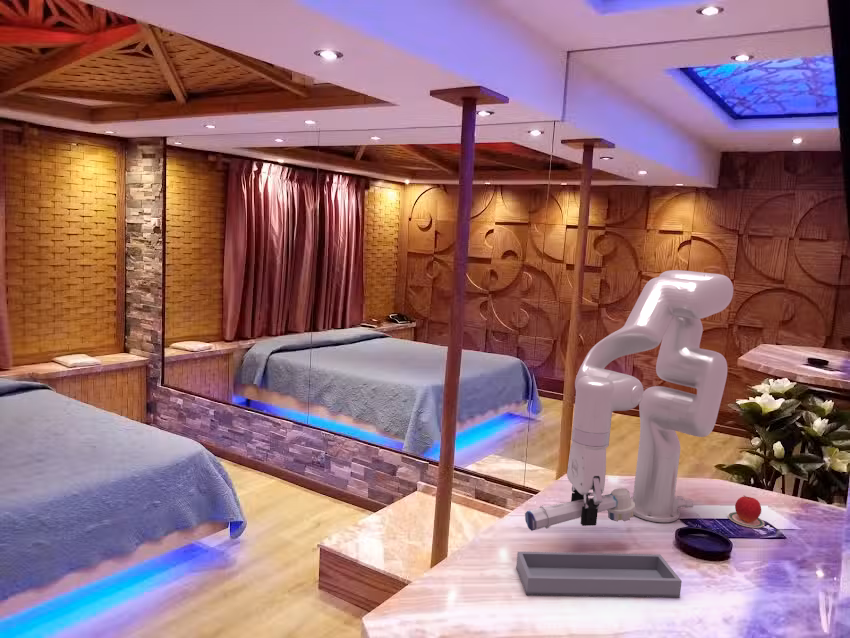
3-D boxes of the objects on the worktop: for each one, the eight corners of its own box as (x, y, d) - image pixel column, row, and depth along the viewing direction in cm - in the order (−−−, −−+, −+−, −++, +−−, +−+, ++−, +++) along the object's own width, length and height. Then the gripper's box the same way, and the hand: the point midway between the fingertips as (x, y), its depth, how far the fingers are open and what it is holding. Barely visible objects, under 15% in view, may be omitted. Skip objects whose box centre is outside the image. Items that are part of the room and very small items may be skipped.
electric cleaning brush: (522, 505, 133) (625, 479, 140) (524, 534, 134) (625, 507, 142) (534, 517, 128) (640, 489, 135) (536, 547, 129) (640, 518, 137)
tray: (658, 570, 131) (660, 554, 131) (679, 597, 122) (681, 580, 121) (516, 567, 129) (517, 551, 129) (526, 595, 120) (528, 578, 119)
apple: (720, 517, 158) (724, 492, 157) (742, 512, 162) (745, 487, 161) (749, 531, 151) (753, 505, 150) (771, 526, 155) (775, 500, 154)
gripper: (560, 422, 140) (553, 499, 143) (587, 451, 124) (579, 538, 126) (593, 422, 141) (585, 499, 144) (625, 451, 124) (616, 537, 127)
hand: (583, 516), depth 135 cm, fingers closed on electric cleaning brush, 5 cm apart
